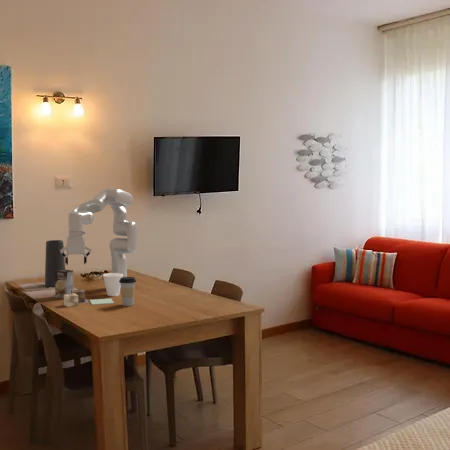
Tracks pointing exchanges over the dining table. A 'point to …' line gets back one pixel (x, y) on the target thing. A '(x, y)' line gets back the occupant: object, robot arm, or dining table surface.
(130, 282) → the coffee cup
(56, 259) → the vase
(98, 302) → the mat
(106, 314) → the dining table surface
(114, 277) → the cup
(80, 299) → the walnut block
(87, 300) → the tile
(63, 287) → the coffee box
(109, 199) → the robot arm
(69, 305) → the maple block
